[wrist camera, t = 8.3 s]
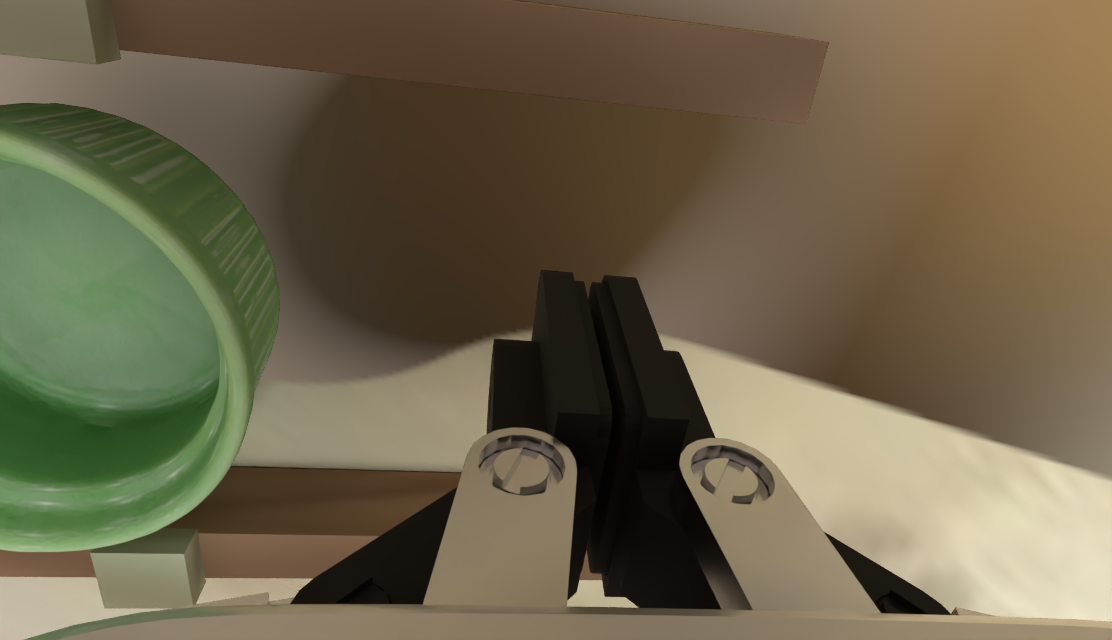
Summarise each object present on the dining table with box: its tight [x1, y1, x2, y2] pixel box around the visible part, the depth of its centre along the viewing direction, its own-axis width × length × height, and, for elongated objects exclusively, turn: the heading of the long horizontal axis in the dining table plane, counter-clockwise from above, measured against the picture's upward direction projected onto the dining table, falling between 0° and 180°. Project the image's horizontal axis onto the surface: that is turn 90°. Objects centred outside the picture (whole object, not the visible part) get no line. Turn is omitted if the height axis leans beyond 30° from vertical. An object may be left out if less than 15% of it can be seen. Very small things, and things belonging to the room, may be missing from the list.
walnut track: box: [0, 0, 829, 608], centre depth 15 cm, size 14×20×3 cm
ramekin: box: [0, 103, 280, 552], centre depth 14 cm, size 9×9×4 cm
